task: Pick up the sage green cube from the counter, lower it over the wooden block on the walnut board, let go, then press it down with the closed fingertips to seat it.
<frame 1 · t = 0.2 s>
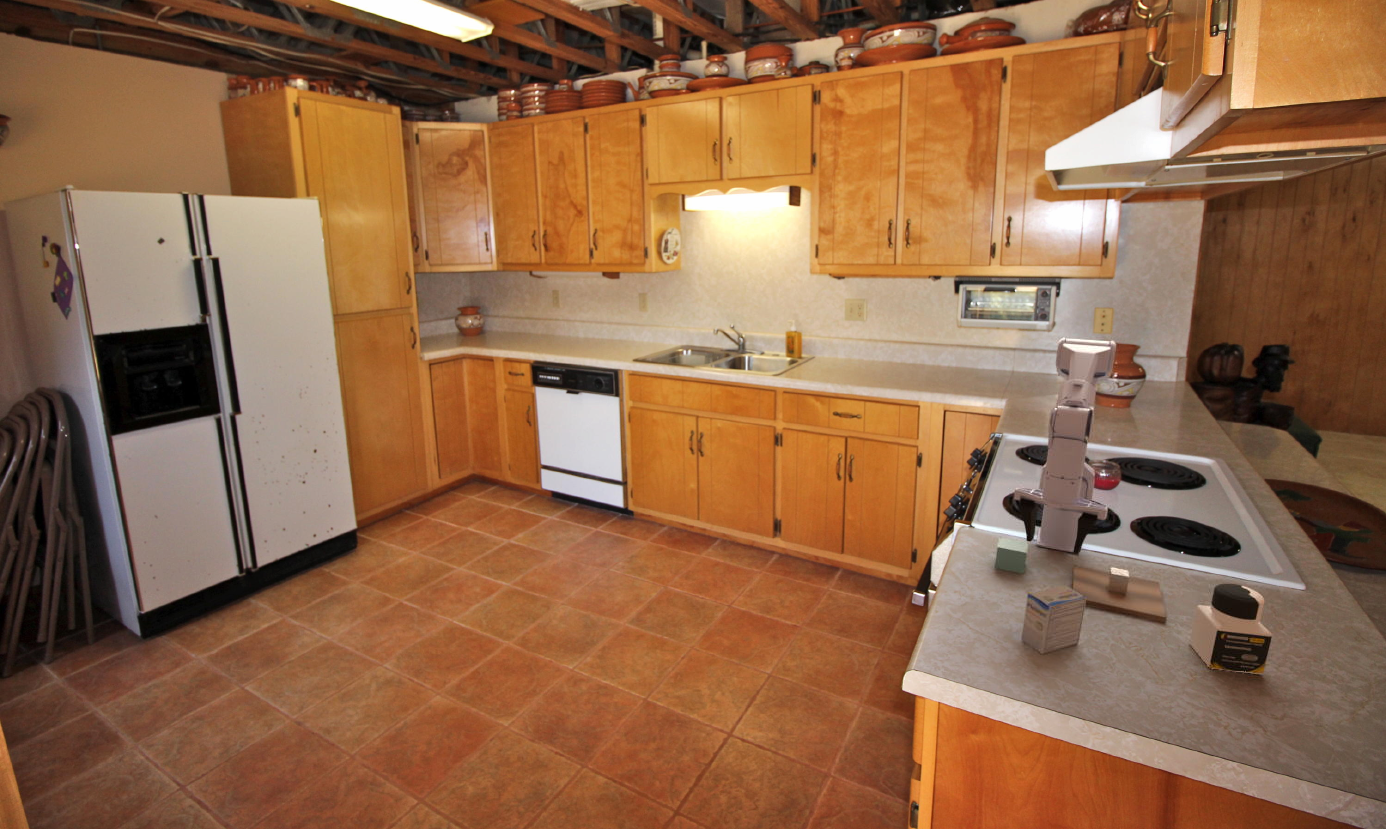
hand: (1053, 545, 123), 10 cm above the worktop, tool pointing down, fingers open, 7 cm apart
sage green cube: (1010, 565, 137), on the worktop
medicine box: (1049, 643, 111), on the worktop
board: (1115, 594, 126), on the worktop
wooden block: (1118, 580, 126), on the board, point 3 cm above the worktop
medicine bottle: (1224, 660, 107), on the worktop
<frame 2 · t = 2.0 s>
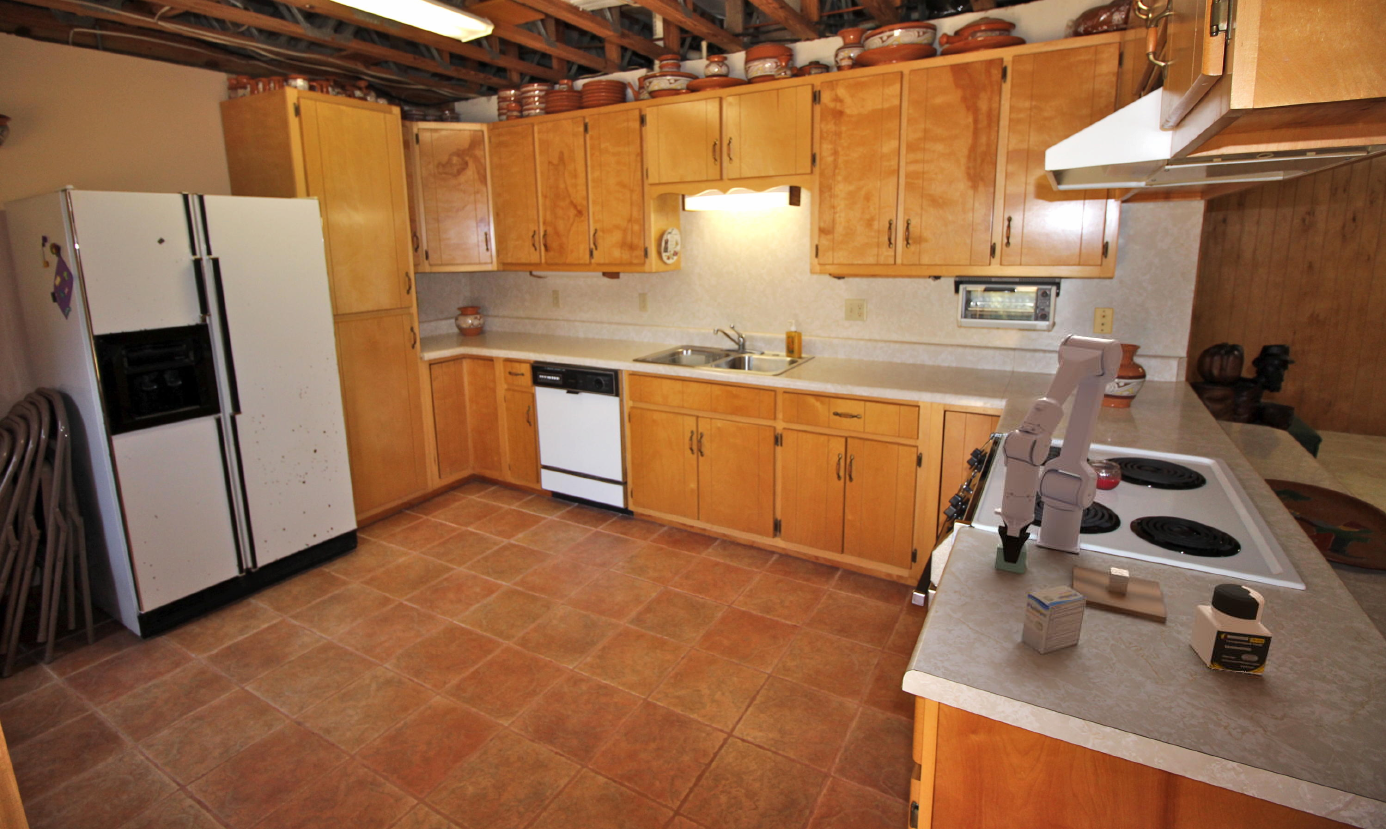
hand: (1011, 556, 137), 2 cm above the worktop, tool pointing down, fingers closed on sage green cube, 5 cm apart
sage green cube: (1010, 565, 137), on the worktop, touching gripper
everything else where it was.
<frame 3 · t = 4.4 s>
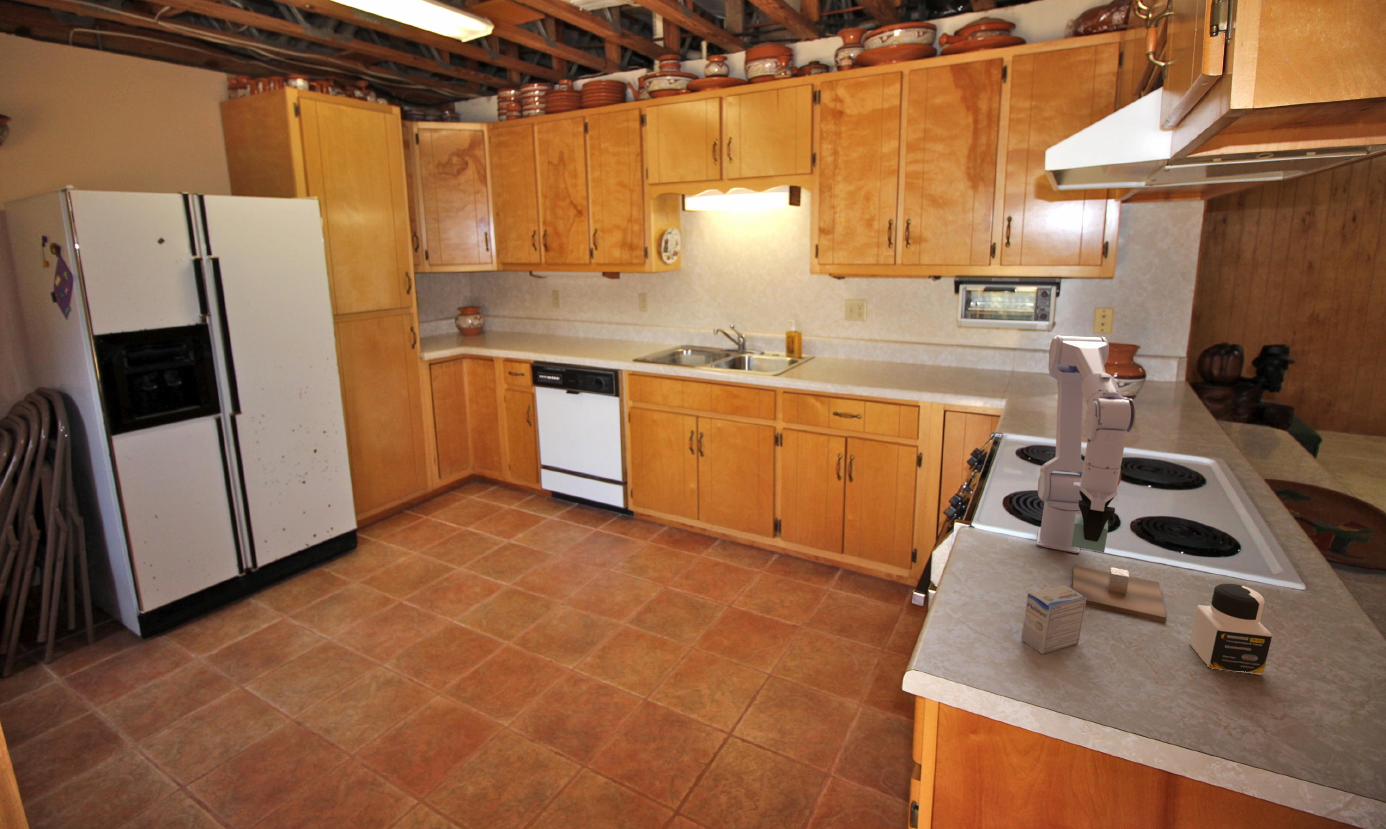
hand: (1091, 534, 127), 10 cm above the worktop, tool pointing down, fingers closed on sage green cube, 5 cm apart
sage green cube: (1087, 544, 127), point 8 cm above the worktop, touching gripper
everything else where it was.
when the fingers open (3 cm above the worktop, at t = 7.1 s): sage green cube stays where it is, resting on board.
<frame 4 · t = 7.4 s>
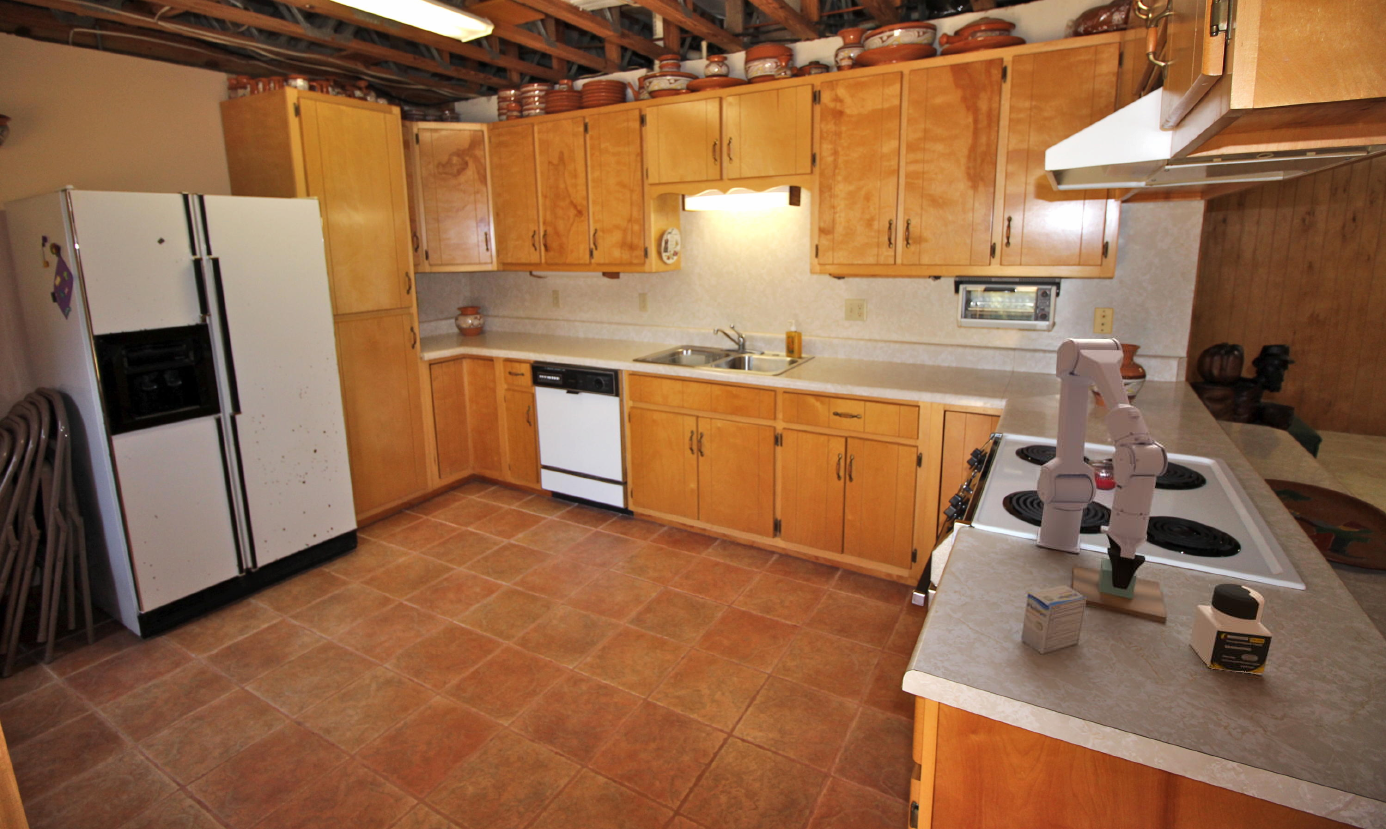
hand: (1118, 578, 125), 3 cm above the worktop, tool pointing down, fingers open, 7 cm apart
sage green cube: (1115, 588, 126), point 1 cm above the worktop, touching board
everything else where it was.
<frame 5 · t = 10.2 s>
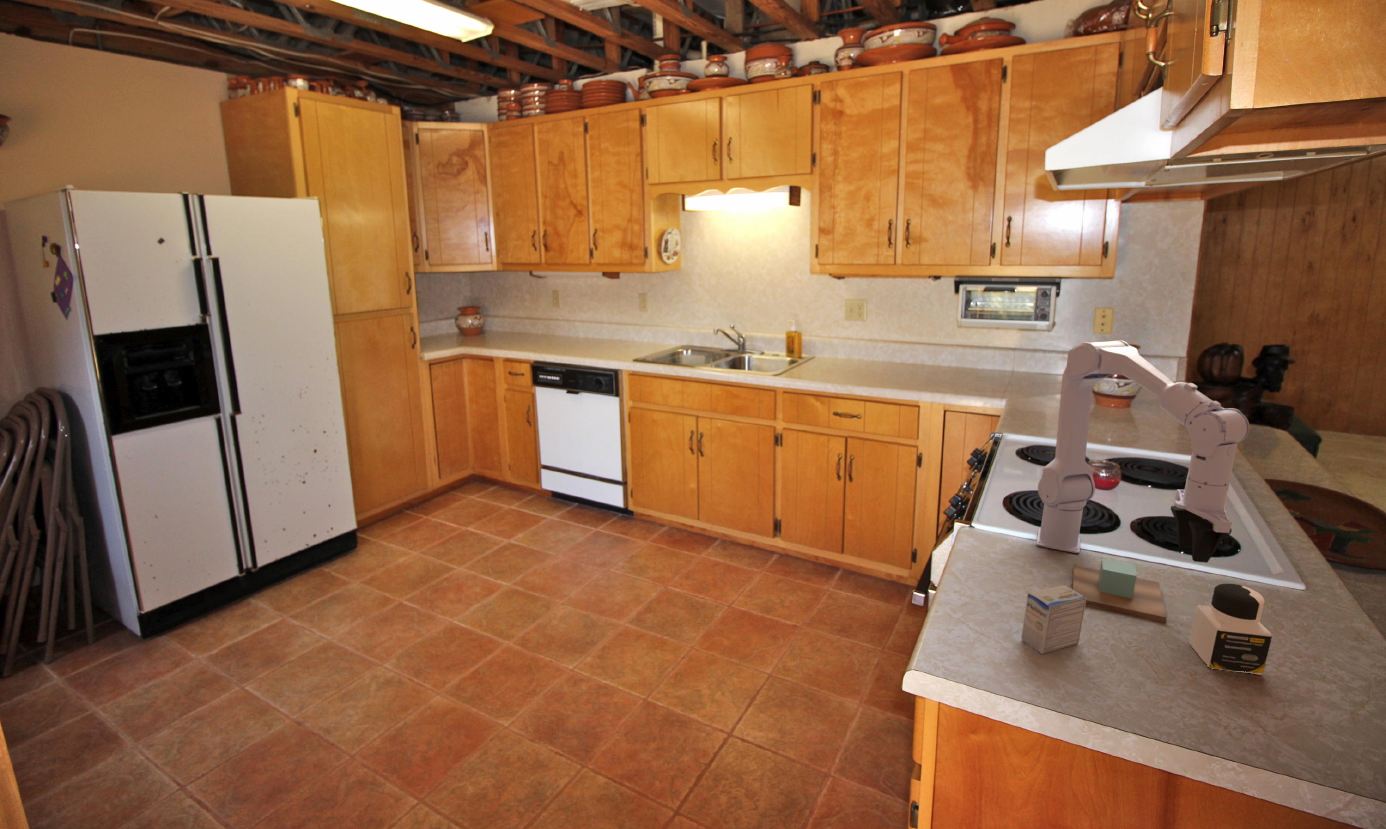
hand: (1192, 554, 119), 10 cm above the worktop, tool pointing down, fingers open, 5 cm apart
nothing on the worktop moved.
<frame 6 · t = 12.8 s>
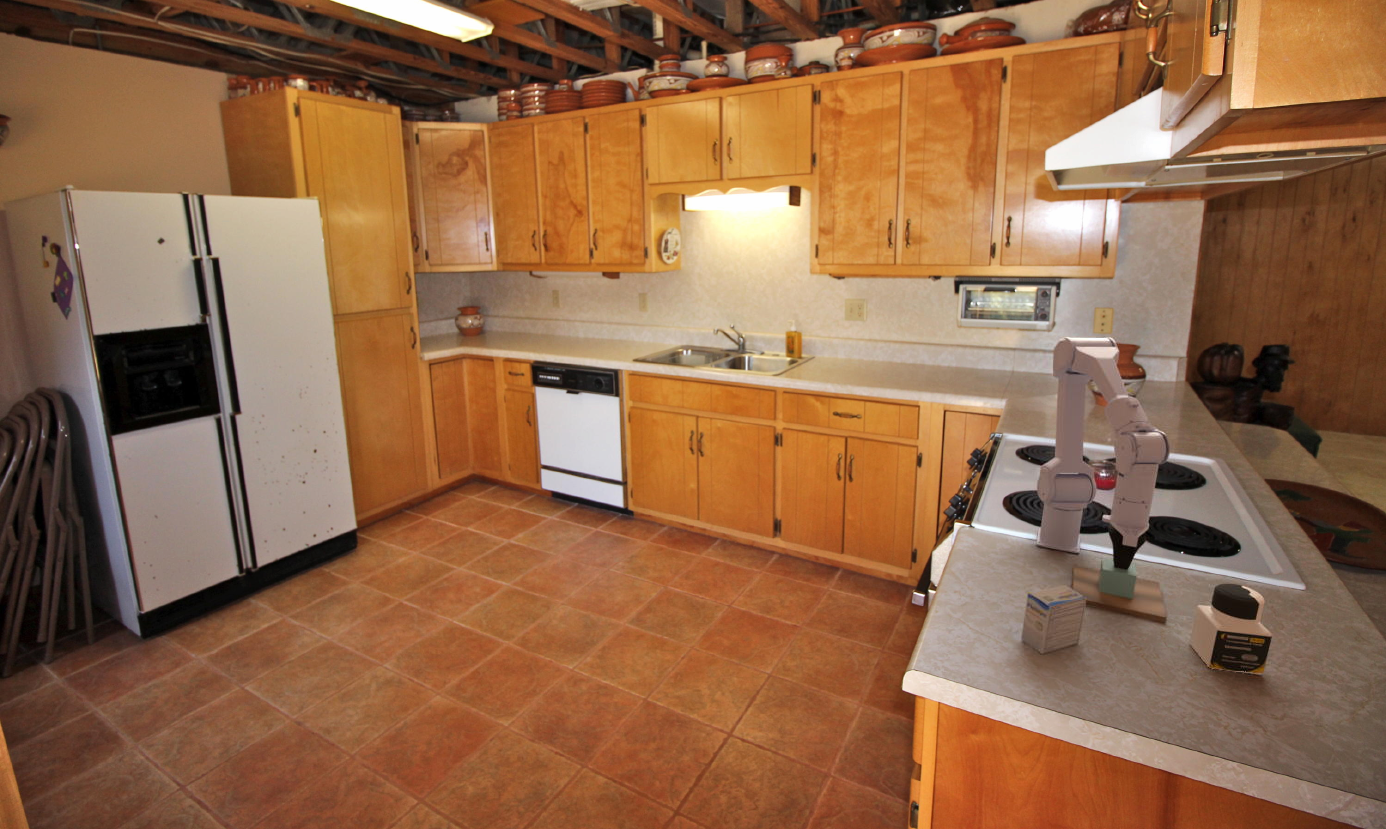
hand: (1120, 567, 125), 5 cm above the worktop, tool pointing down, fingers closed, pressing on sage green cube
sage green cube: (1115, 588, 126), point 1 cm above the worktop, touching board, gripper
everything else where it was.
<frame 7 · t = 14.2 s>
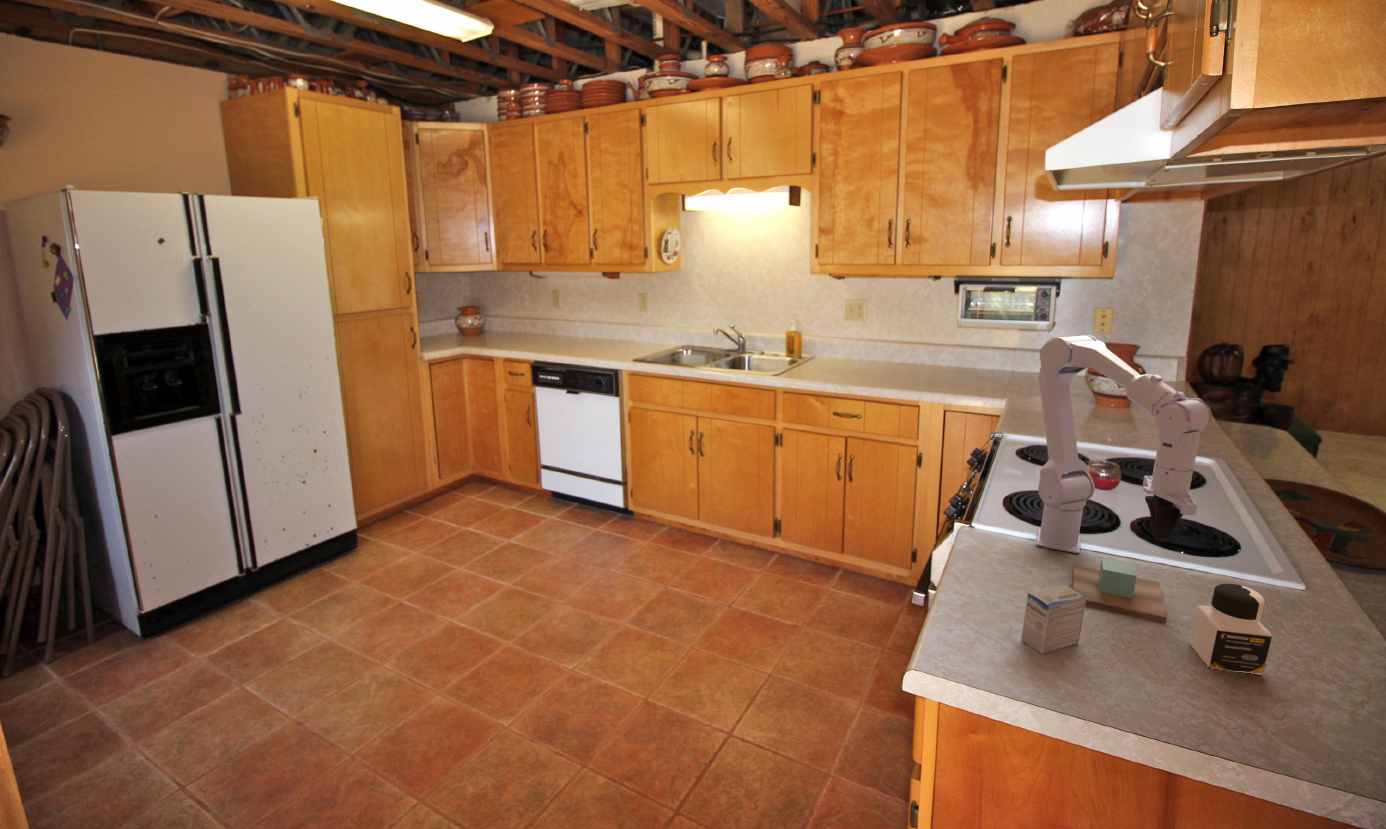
hand: (1160, 536, 126), 10 cm above the worktop, tool pointing down, fingers closed
sage green cube: (1115, 588, 126), point 1 cm above the worktop, touching board
everything else where it was.
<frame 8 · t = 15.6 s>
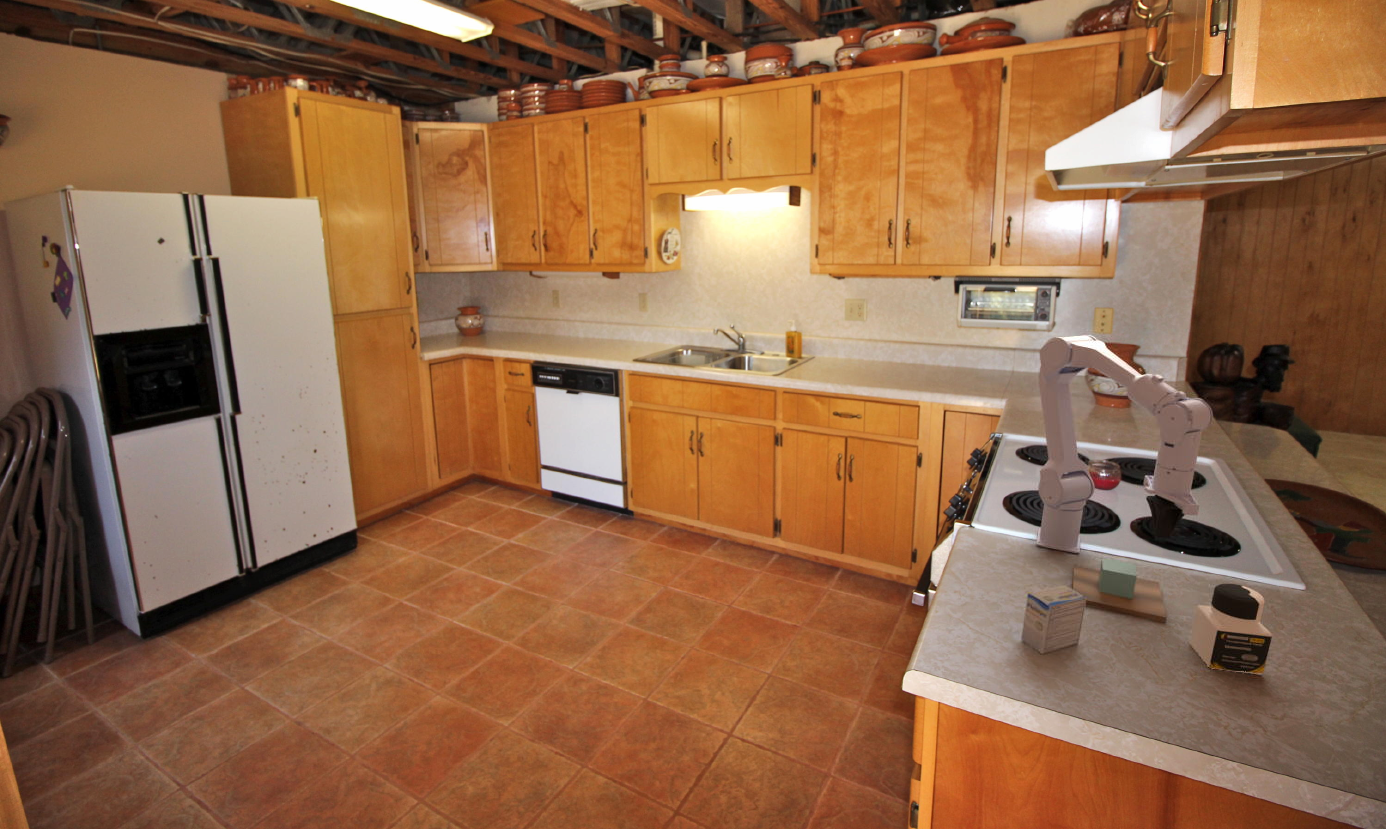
hand: (1161, 536, 126), 10 cm above the worktop, tool pointing down, fingers closed
nothing on the worktop moved.
at the end: sage green cube 0.3 cm off-centre on the wooden block, point 1.0 cm above the wooden block's base; sage green cube tilted 0°; the gripper is holding nothing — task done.
